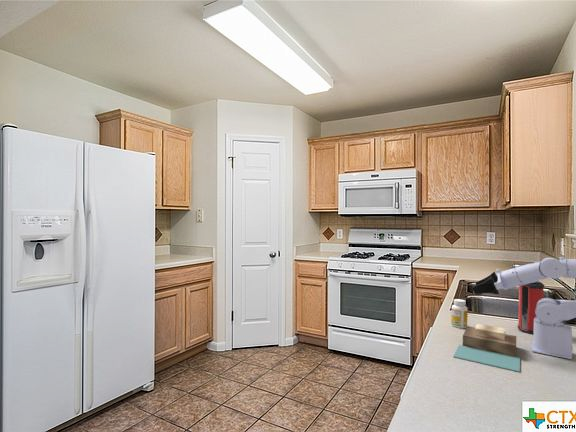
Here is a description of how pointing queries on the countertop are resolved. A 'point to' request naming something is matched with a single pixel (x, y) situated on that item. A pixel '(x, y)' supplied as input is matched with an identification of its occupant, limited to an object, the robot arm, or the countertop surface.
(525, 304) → the speaker
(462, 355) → the mat
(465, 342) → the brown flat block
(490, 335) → the maple block
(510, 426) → the countertop surface
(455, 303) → the supplement bottle
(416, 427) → the countertop surface
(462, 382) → the countertop surface
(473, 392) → the countertop surface
